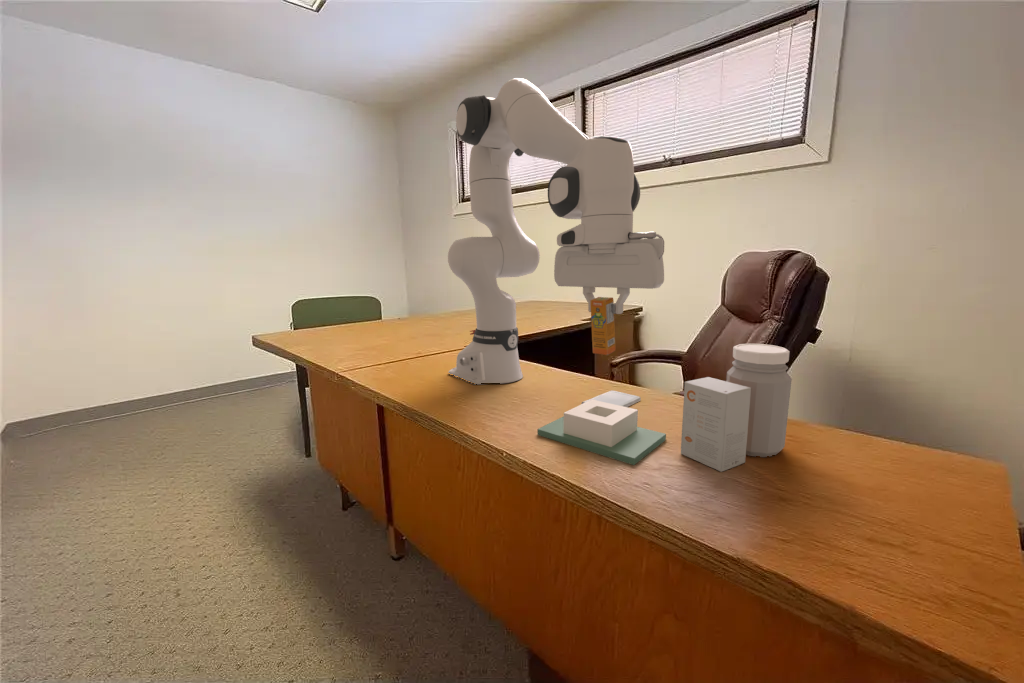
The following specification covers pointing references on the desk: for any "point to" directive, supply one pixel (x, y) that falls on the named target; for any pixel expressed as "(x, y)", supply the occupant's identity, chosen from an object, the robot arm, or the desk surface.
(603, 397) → the hard drive
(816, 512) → the desk surface
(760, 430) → the jar
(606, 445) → the board
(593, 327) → the supplement box
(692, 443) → the small box
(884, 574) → the desk surface
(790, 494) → the desk surface
